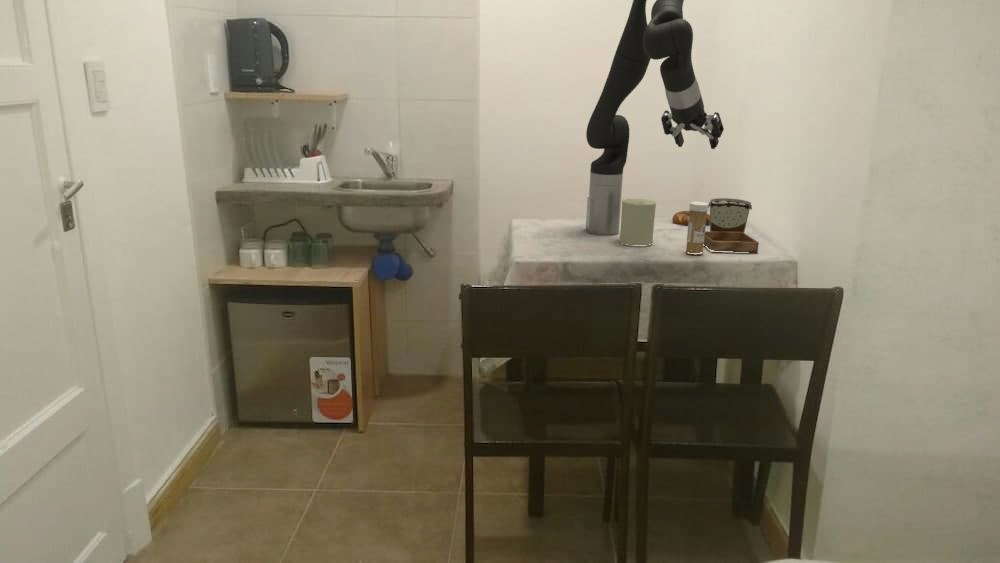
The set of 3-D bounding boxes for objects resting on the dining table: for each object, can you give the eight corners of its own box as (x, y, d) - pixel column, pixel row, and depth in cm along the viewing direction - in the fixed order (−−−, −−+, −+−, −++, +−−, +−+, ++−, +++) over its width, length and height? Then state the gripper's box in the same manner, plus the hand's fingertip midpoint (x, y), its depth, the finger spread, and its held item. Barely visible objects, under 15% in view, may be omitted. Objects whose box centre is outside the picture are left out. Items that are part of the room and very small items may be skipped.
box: (711, 252, 192) (712, 241, 191) (698, 241, 204) (699, 231, 203) (757, 253, 192) (758, 242, 191) (741, 242, 204) (742, 231, 203)
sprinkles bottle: (700, 256, 188) (705, 205, 184) (682, 254, 190) (687, 203, 186) (705, 253, 192) (710, 202, 188) (687, 250, 194) (692, 200, 190)
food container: (744, 232, 217) (748, 198, 214) (748, 236, 211) (752, 202, 208) (701, 230, 218) (705, 197, 215) (705, 235, 212) (708, 200, 209)
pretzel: (676, 227, 222) (677, 215, 221) (668, 220, 233) (669, 208, 231) (715, 228, 222) (717, 216, 221) (705, 220, 233) (706, 209, 232)
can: (625, 247, 196) (628, 203, 192) (614, 239, 205) (617, 196, 201) (658, 246, 197) (661, 202, 194) (645, 238, 206) (649, 196, 203)
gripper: (719, 85, 167) (730, 136, 179) (661, 84, 175) (675, 133, 187) (708, 109, 164) (720, 158, 176) (649, 107, 172) (665, 154, 184)
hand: (697, 145), depth 181 cm, fingers open, 8 cm apart
